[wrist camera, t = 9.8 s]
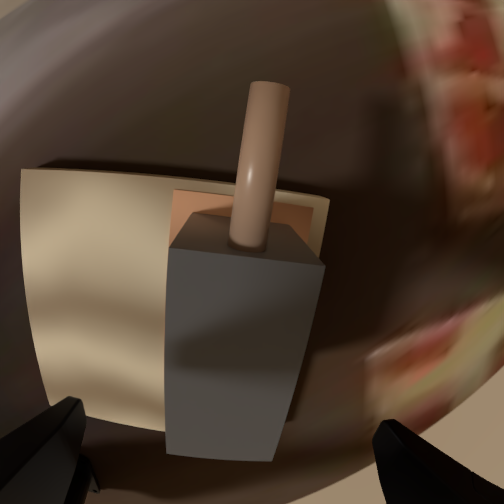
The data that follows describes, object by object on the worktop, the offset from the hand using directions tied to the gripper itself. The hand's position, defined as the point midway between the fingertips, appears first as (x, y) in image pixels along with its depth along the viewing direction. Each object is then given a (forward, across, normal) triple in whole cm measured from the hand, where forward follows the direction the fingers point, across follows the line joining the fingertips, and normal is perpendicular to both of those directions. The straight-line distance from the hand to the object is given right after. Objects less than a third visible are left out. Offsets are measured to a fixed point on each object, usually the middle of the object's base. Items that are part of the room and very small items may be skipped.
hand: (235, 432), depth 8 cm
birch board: (+10, +4, +2) cm, 11 cm away
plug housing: (+8, 0, -2) cm, 9 cm away
